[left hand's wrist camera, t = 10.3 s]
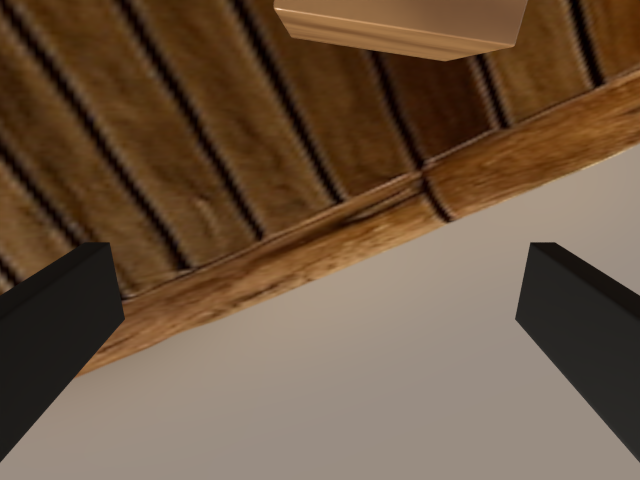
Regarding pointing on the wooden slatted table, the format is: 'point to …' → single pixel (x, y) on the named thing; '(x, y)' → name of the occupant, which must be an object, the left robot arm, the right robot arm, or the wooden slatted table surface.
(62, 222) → the wooden slatted table surface
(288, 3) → the box
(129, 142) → the wooden slatted table surface
